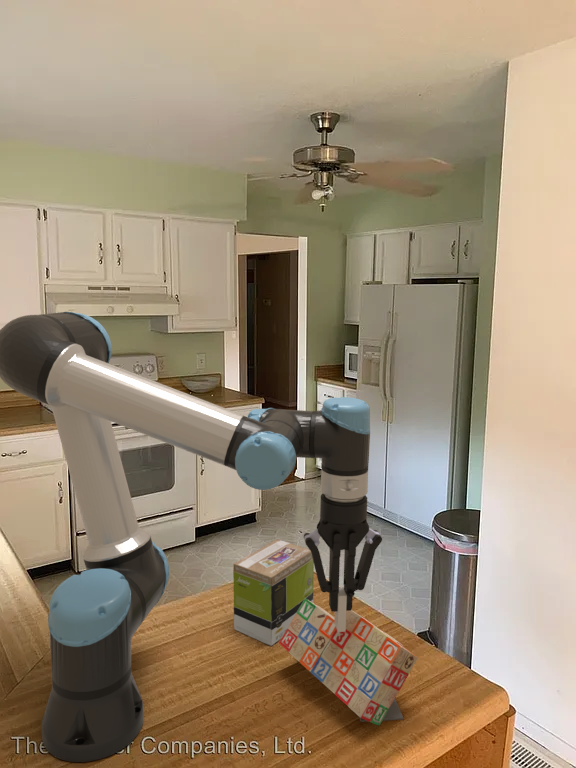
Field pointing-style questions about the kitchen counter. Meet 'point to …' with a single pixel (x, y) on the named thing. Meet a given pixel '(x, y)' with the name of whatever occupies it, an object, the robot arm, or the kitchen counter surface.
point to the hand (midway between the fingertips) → (340, 626)
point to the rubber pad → (391, 713)
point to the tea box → (271, 589)
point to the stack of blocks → (350, 659)
